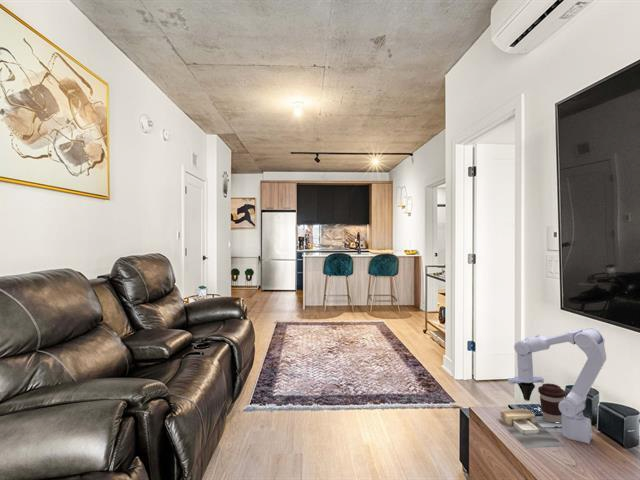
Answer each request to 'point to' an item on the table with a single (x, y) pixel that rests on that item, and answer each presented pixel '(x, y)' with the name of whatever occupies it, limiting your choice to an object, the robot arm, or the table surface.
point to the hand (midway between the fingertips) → (526, 399)
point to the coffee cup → (551, 401)
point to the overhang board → (527, 440)
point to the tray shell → (525, 426)
